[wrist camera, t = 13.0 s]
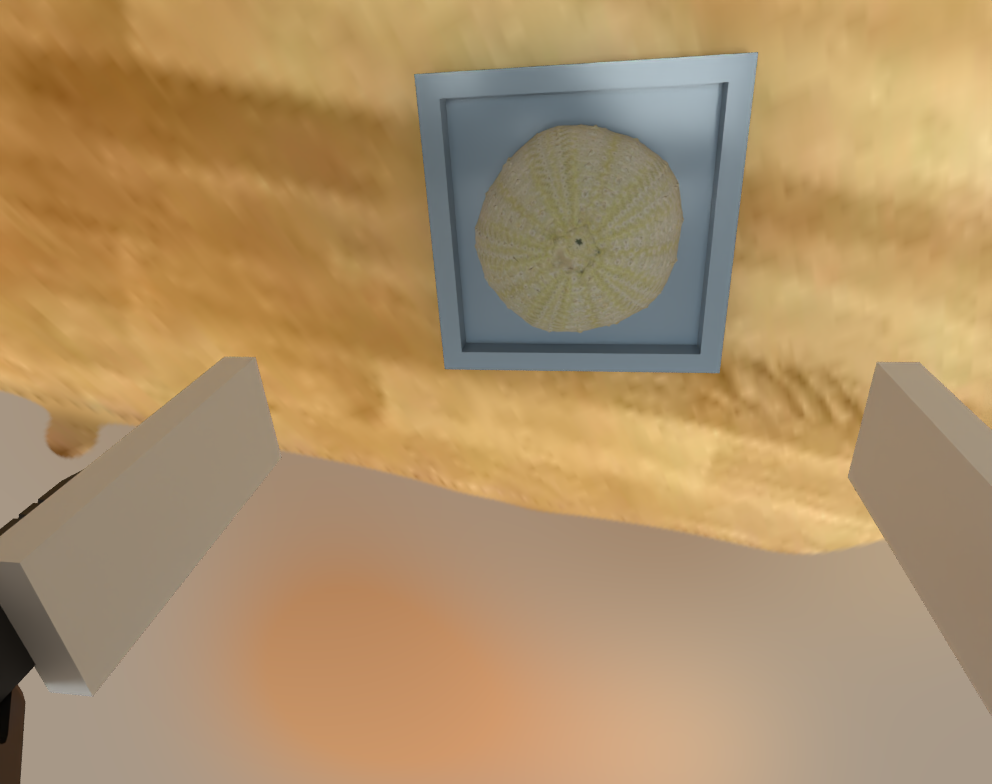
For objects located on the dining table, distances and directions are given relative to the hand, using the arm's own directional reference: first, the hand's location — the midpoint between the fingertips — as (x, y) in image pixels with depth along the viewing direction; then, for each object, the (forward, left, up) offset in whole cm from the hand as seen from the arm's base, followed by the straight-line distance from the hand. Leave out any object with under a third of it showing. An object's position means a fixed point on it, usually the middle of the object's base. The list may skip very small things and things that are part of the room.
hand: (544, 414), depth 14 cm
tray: (0, 0, -19) cm, 19 cm away
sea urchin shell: (0, 0, -19) cm, 19 cm away
